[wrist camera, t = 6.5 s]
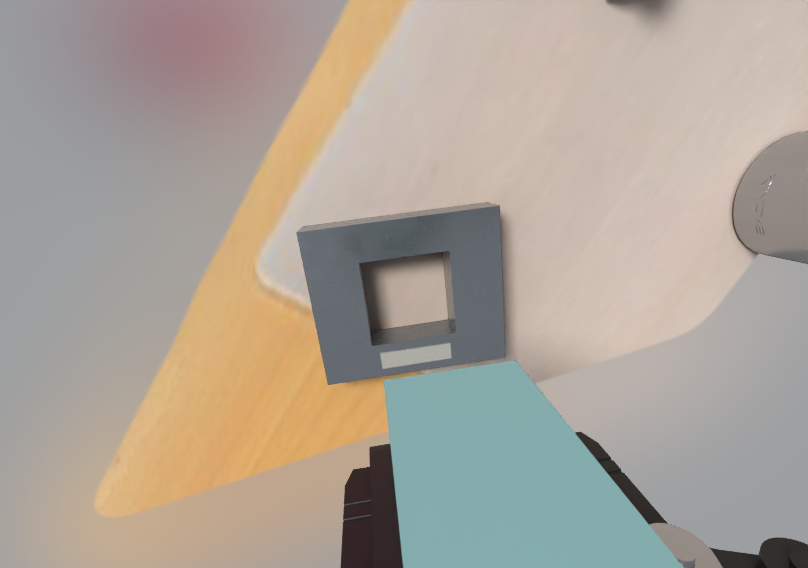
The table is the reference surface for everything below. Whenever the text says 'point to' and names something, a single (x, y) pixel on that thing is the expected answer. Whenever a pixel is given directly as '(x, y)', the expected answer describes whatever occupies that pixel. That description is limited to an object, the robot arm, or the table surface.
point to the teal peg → (504, 479)
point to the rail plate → (394, 238)
